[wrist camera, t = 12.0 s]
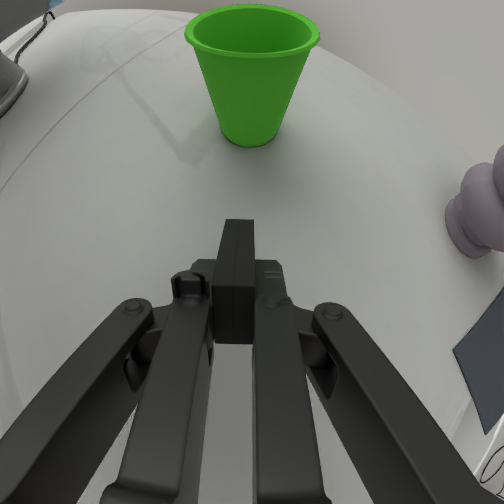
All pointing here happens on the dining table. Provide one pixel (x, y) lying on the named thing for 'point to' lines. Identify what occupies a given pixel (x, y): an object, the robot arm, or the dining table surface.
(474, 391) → the placemat
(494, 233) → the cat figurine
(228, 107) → the cup
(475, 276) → the dining table surface
